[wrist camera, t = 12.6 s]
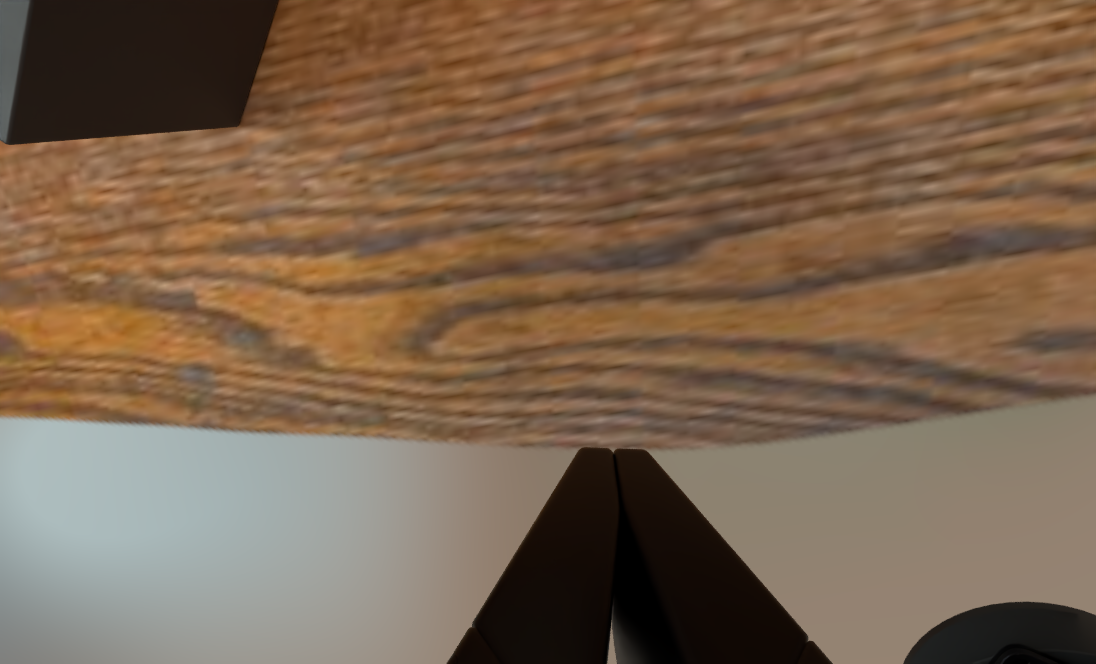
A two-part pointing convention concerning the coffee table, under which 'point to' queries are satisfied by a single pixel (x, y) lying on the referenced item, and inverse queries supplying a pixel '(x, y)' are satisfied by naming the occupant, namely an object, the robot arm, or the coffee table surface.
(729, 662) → the robot arm
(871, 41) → the coffee table surface
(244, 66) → the block
